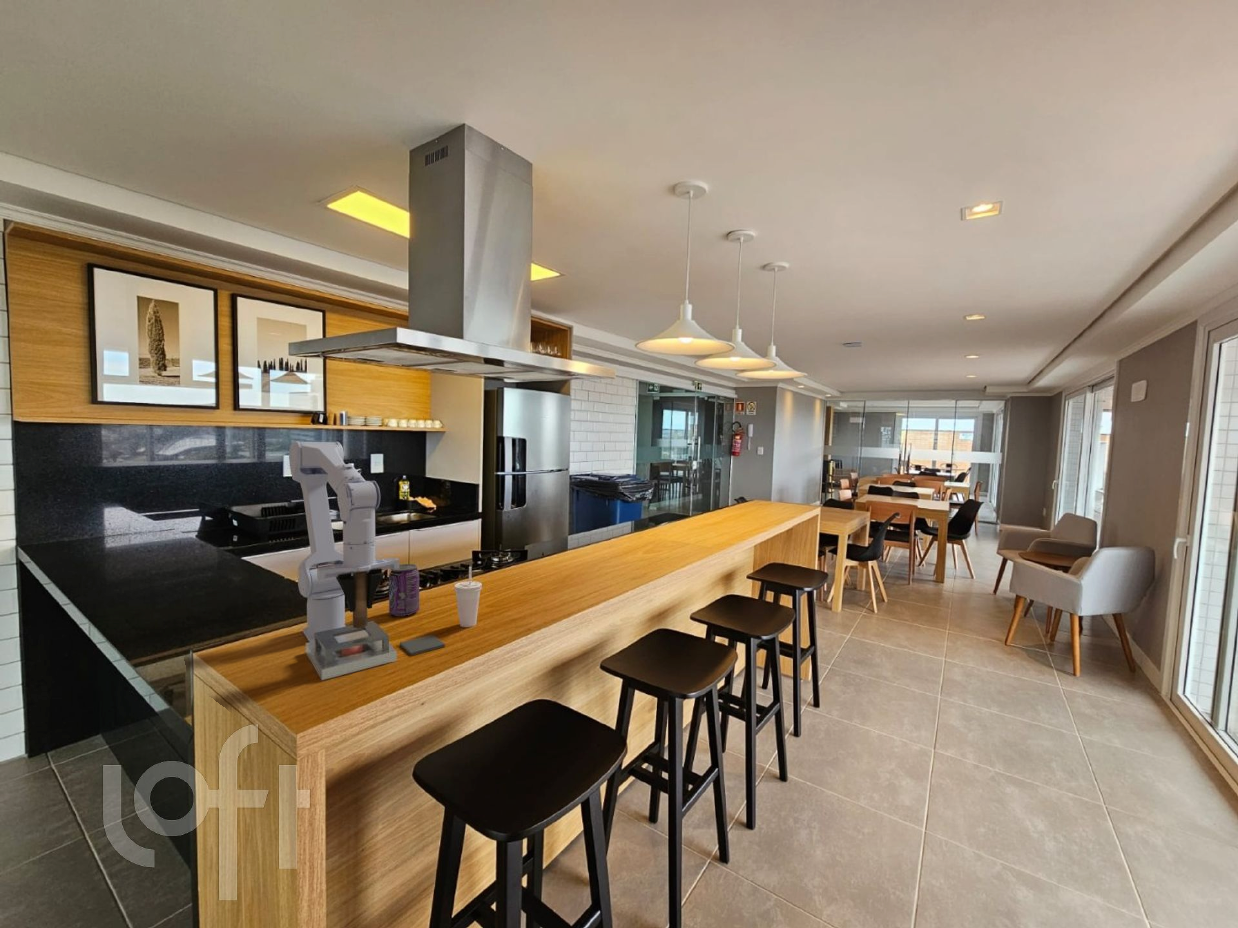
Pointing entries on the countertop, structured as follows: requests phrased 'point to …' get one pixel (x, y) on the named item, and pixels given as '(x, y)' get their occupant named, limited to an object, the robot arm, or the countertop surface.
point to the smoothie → (468, 601)
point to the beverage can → (404, 590)
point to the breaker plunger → (351, 651)
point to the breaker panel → (350, 660)
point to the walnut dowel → (360, 600)
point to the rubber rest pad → (422, 644)
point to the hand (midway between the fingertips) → (360, 609)
